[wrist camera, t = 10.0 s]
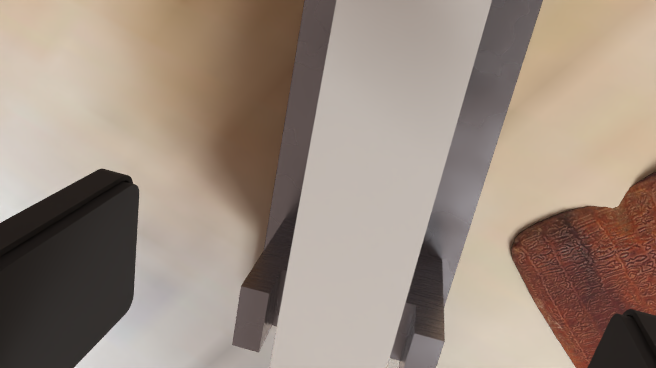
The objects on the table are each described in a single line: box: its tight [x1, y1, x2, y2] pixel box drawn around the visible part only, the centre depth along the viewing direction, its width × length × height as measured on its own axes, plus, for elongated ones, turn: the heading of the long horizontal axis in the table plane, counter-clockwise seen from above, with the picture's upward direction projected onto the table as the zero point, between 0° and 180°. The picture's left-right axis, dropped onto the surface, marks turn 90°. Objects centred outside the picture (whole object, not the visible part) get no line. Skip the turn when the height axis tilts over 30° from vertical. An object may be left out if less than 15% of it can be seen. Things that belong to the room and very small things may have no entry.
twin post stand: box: [232, 0, 543, 368], centre depth 23 cm, size 10×25×8 cm, turn 169°
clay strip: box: [269, 0, 492, 368], centre depth 19 cm, size 4×22×5 cm, turn 169°
